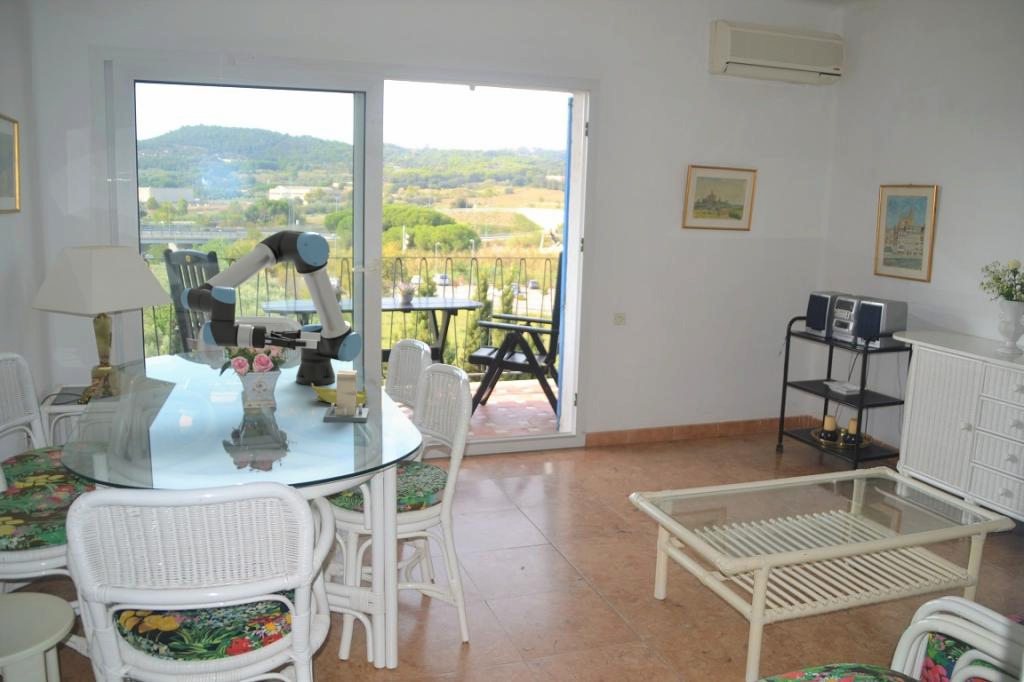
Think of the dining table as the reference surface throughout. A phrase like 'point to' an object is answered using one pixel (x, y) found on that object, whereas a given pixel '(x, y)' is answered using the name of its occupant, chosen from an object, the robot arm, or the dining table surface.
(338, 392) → the birch block
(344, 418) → the pin plate
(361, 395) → the plastic component
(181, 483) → the dining table surface
